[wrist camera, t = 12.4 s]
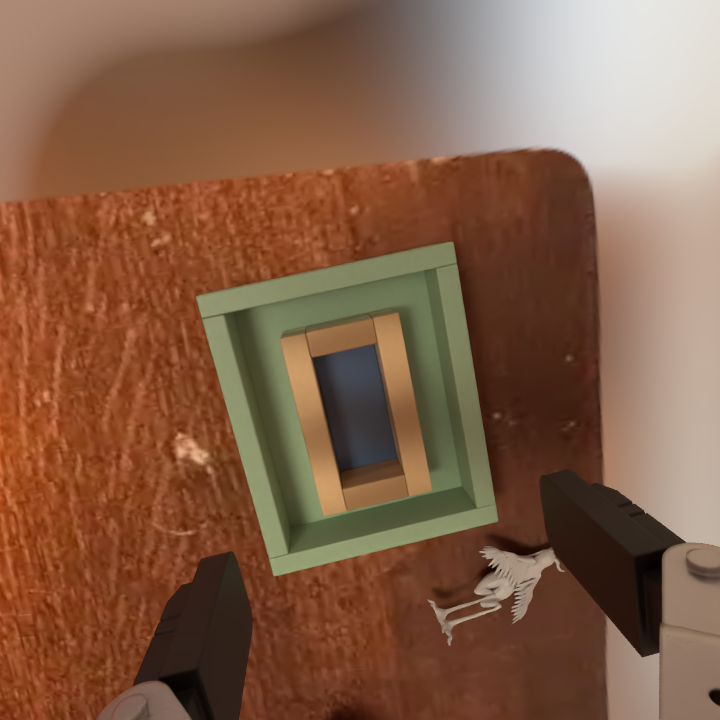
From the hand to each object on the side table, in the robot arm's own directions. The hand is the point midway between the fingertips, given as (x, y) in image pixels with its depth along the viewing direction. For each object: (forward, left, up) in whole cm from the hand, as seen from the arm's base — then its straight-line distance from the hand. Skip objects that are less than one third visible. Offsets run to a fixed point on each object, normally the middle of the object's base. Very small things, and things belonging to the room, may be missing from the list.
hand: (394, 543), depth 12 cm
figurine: (+14, +5, -14) cm, 21 cm away
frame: (0, 0, -13) cm, 13 cm away
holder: (0, 0, -14) cm, 14 cm away
